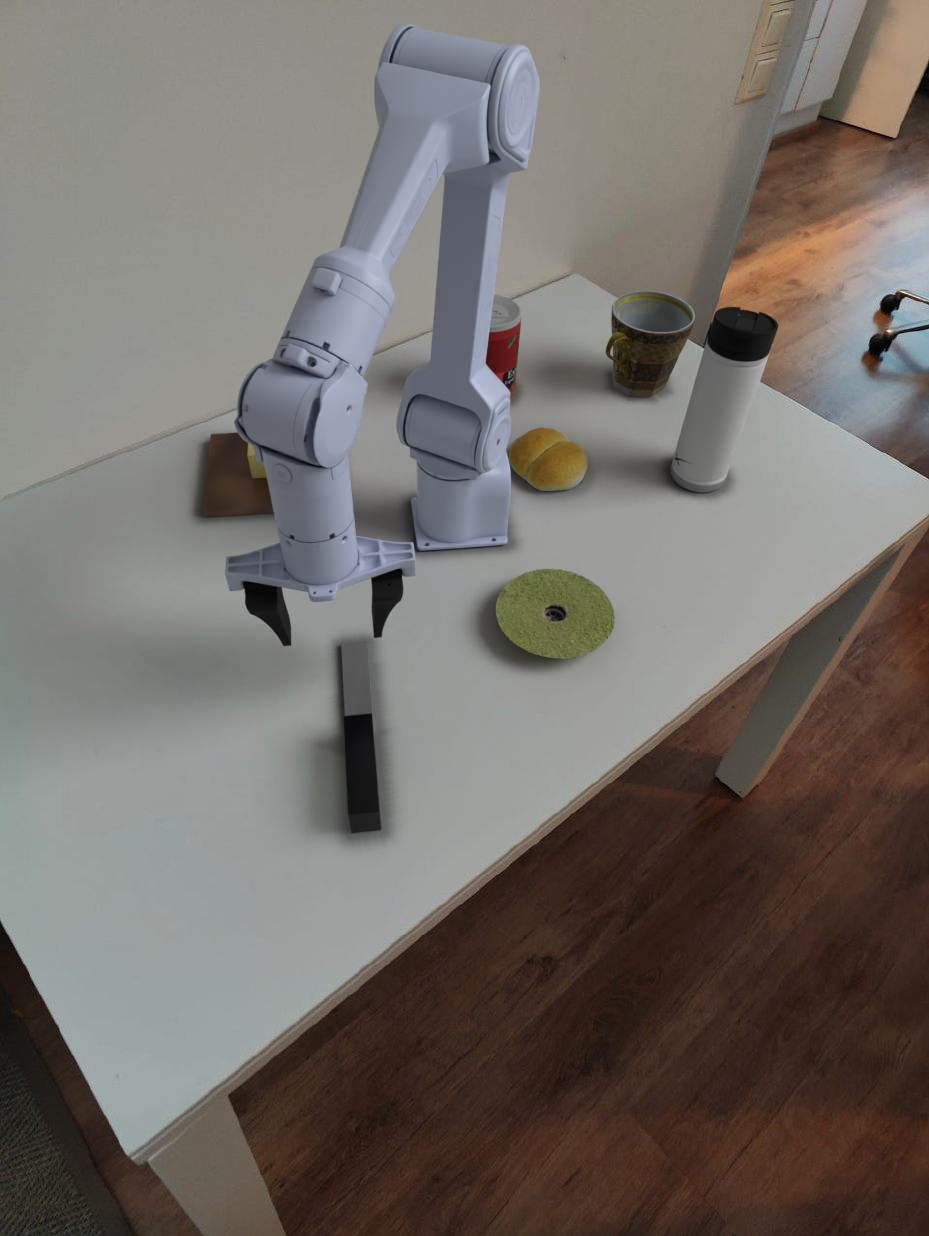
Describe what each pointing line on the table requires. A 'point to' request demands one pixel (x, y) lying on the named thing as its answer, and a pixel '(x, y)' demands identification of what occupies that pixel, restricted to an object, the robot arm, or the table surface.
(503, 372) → the canned food
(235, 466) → the butter board
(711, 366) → the travel mug
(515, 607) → the green abrasive disc
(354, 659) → the two-tone black bar
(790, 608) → the table surface
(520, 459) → the bread roll
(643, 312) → the ceramic cup
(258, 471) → the butter stick
